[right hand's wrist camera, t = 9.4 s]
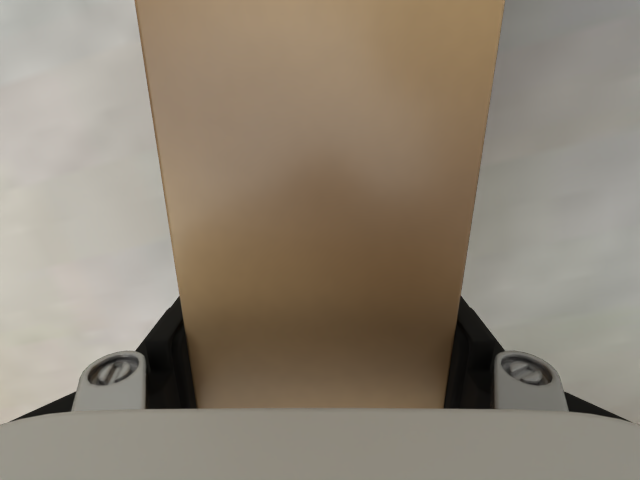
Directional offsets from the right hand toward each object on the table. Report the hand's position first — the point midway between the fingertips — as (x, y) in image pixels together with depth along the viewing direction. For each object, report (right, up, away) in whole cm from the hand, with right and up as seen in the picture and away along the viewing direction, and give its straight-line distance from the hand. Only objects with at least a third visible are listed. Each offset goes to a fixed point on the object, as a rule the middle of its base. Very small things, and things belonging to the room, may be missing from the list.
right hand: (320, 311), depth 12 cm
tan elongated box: (0, +8, +5) cm, 10 cm away
